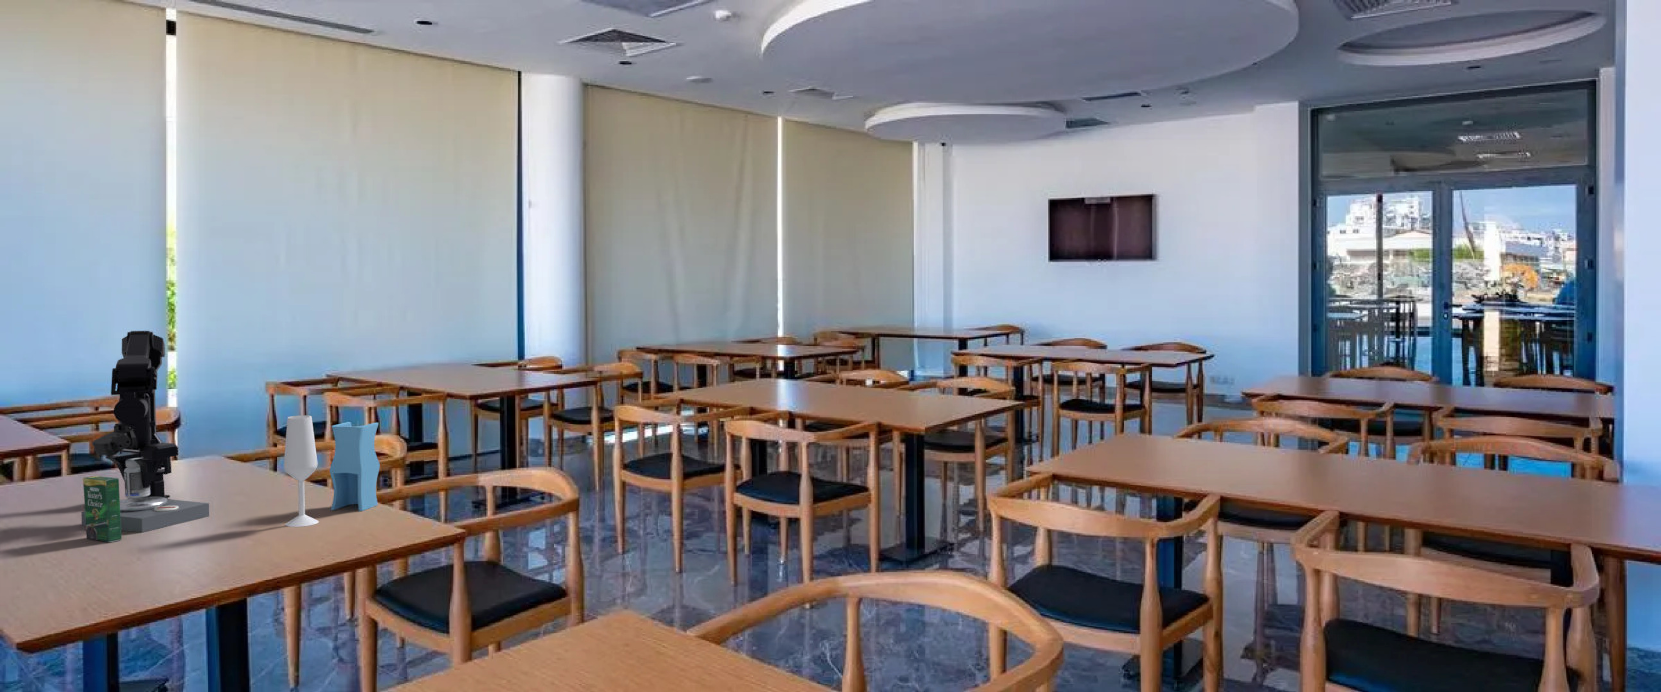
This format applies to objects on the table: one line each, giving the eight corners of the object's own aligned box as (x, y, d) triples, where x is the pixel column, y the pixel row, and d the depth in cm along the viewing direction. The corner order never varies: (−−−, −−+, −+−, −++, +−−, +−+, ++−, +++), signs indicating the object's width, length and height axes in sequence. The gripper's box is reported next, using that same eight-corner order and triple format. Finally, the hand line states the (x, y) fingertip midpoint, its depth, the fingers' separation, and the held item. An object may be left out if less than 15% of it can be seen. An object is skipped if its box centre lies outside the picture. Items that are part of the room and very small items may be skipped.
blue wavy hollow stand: (380, 503, 244) (378, 422, 243) (362, 511, 236) (360, 427, 235) (349, 502, 245) (348, 421, 243) (330, 509, 237) (328, 426, 236)
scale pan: (96, 509, 222) (95, 504, 222) (143, 499, 232) (143, 495, 232) (132, 513, 218) (132, 508, 218) (179, 502, 229) (179, 498, 229)
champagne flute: (307, 518, 229) (305, 414, 227) (325, 522, 225) (322, 416, 224) (278, 524, 223) (276, 417, 221) (296, 528, 219) (293, 419, 218)
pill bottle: (155, 494, 227) (154, 457, 227) (139, 498, 223) (138, 461, 222) (136, 493, 228) (135, 457, 227) (119, 497, 223) (118, 460, 223)
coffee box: (84, 538, 209) (81, 476, 208) (98, 535, 212) (96, 474, 211) (107, 543, 206) (105, 480, 205) (122, 539, 208) (120, 477, 207)
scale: (81, 525, 220) (81, 509, 220) (151, 509, 235) (150, 494, 235) (142, 532, 214) (141, 515, 214) (209, 515, 230) (208, 500, 229)
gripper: (68, 420, 219) (71, 490, 220) (130, 425, 214) (133, 497, 215) (118, 414, 230) (120, 481, 231) (179, 418, 224) (181, 487, 225)
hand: (137, 486), depth 225 cm, fingers closed on pill bottle, 5 cm apart
